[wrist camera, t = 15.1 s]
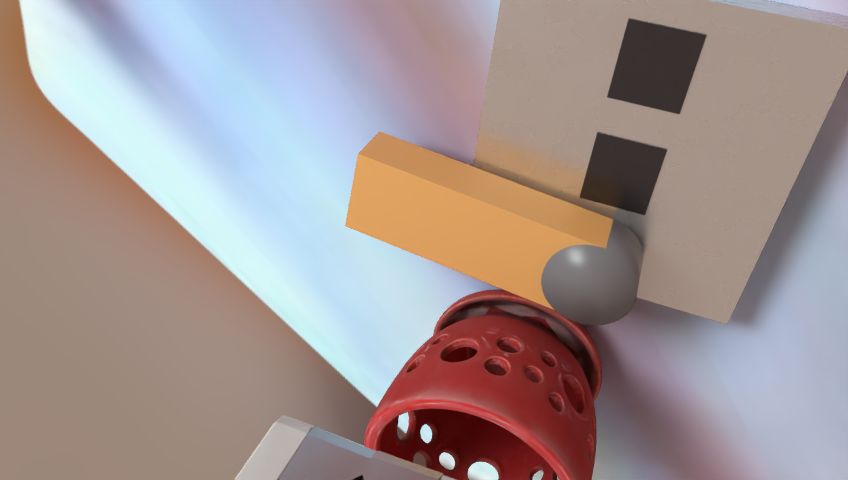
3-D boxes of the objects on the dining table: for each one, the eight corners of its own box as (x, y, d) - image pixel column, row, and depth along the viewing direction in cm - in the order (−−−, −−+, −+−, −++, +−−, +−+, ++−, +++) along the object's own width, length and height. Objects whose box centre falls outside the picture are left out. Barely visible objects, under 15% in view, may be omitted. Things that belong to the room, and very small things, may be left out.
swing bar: (379, 131, 41) (355, 156, 39) (657, 236, 39) (652, 270, 36) (365, 201, 44) (343, 228, 42) (623, 302, 42) (615, 338, 39)
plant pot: (430, 252, 48) (356, 371, 38) (630, 298, 44) (603, 442, 35) (424, 390, 55) (361, 519, 46) (596, 439, 52) (565, 589, 42)
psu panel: (859, 18, 32) (866, 32, 31) (727, 303, 42) (727, 325, 41) (517, -49, 36) (507, -40, 34) (469, 228, 46) (459, 246, 44)
